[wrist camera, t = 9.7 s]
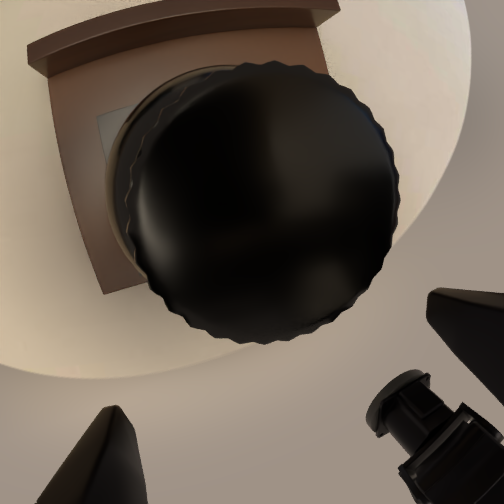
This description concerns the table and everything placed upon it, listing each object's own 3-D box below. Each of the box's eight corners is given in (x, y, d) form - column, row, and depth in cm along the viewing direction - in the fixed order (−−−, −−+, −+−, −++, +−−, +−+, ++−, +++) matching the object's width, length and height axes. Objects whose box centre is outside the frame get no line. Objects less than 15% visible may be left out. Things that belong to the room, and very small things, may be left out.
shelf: (342, 216, 21) (383, 230, 16) (107, 285, 17) (94, 320, 13) (302, 20, 16) (335, -6, 12) (53, 68, 13) (26, 44, 9)
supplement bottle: (112, 147, 14) (-8, 112, 3) (231, 91, 15) (366, -21, 4) (170, 260, 16) (196, 436, 5) (280, 204, 17) (455, 277, 6)
